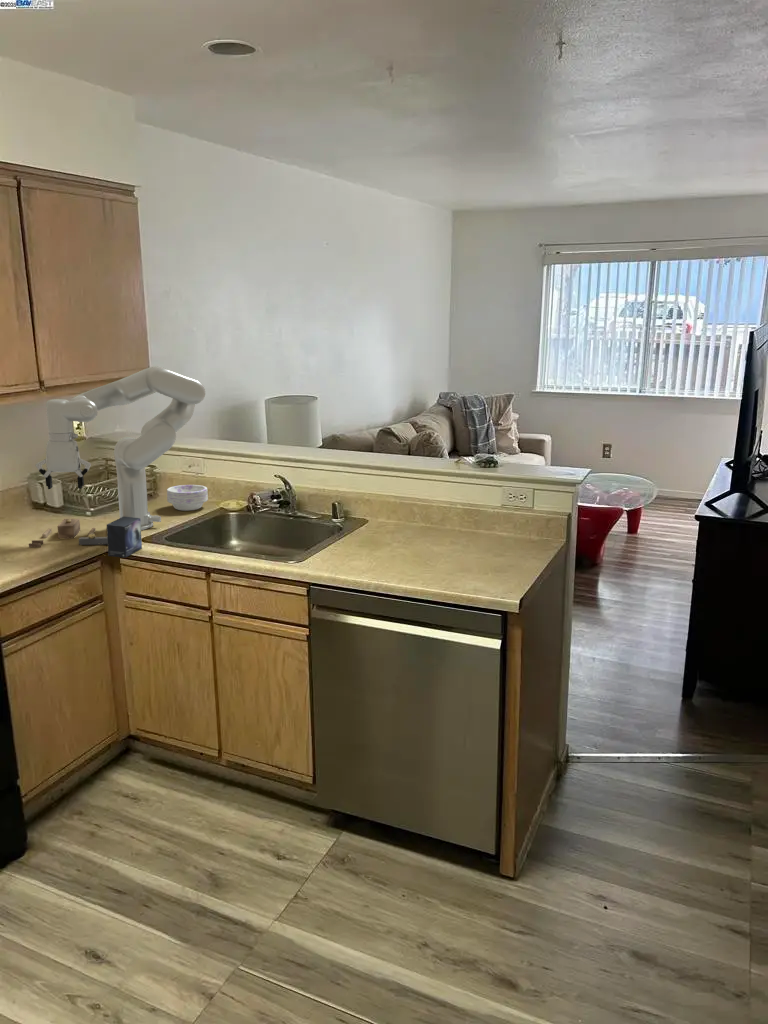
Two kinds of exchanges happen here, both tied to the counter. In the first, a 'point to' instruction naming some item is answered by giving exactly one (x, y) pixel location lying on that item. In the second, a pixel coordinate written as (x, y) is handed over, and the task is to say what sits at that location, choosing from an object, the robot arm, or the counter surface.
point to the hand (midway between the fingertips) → (65, 488)
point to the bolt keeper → (36, 543)
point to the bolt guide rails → (50, 532)
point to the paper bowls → (187, 496)
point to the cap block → (68, 528)
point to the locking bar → (92, 540)
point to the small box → (124, 536)
